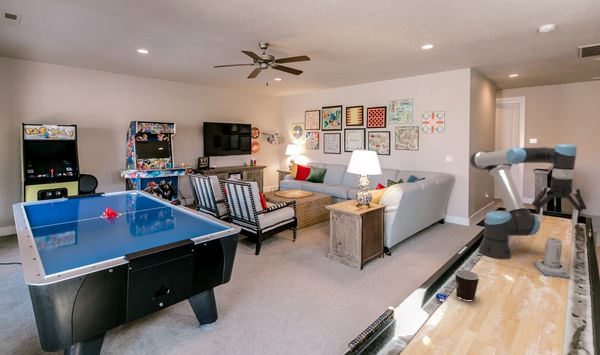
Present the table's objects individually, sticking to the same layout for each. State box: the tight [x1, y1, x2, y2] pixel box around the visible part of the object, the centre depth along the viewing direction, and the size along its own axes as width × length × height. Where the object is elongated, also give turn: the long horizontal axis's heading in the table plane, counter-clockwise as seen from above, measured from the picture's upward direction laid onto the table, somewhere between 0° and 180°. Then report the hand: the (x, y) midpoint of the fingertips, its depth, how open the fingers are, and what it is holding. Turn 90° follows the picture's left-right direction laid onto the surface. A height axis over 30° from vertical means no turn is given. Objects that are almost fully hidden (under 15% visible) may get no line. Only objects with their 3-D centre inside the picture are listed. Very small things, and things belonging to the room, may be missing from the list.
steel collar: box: [536, 259, 568, 274], centre depth 149 cm, size 10×10×2 cm
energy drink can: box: [543, 237, 563, 268], centre depth 148 cm, size 6×6×15 cm
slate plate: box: [532, 261, 572, 280], centre depth 149 cm, size 10×14×1 cm
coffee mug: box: [454, 269, 480, 301], centre depth 124 cm, size 12×9×10 cm
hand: (556, 222), depth 146 cm, fingers open, 13 cm apart
